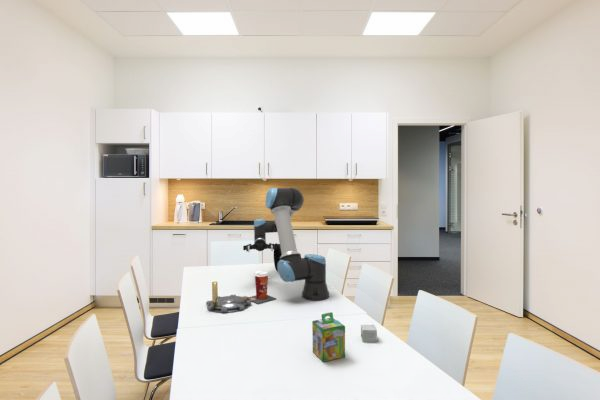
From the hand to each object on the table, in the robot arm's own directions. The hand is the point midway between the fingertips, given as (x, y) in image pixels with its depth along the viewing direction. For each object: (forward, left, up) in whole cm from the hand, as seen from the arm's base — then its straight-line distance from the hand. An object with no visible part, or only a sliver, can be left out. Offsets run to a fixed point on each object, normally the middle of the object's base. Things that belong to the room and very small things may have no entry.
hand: (260, 249), depth 203 cm
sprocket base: (-8, +26, -25) cm, 37 cm away
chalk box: (-80, +27, -25) cm, 88 cm away
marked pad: (-11, +8, -25) cm, 28 cm away
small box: (-82, +6, -26) cm, 86 cm away
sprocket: (-8, +26, -25) cm, 37 cm away
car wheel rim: (+34, -44, -25) cm, 62 cm away
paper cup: (-10, +7, -25) cm, 28 cm away
